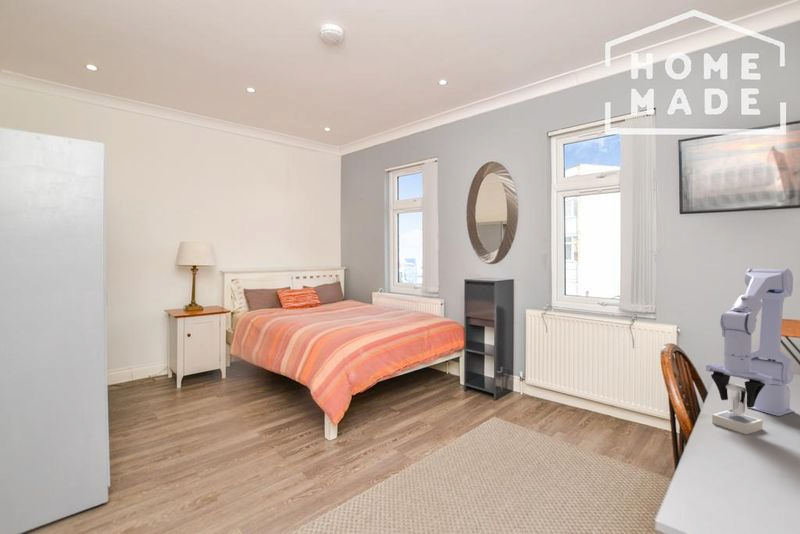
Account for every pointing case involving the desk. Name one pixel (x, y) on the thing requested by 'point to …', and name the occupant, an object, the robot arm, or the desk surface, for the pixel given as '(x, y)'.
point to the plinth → (737, 422)
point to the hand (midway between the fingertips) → (737, 403)
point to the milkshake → (736, 400)
